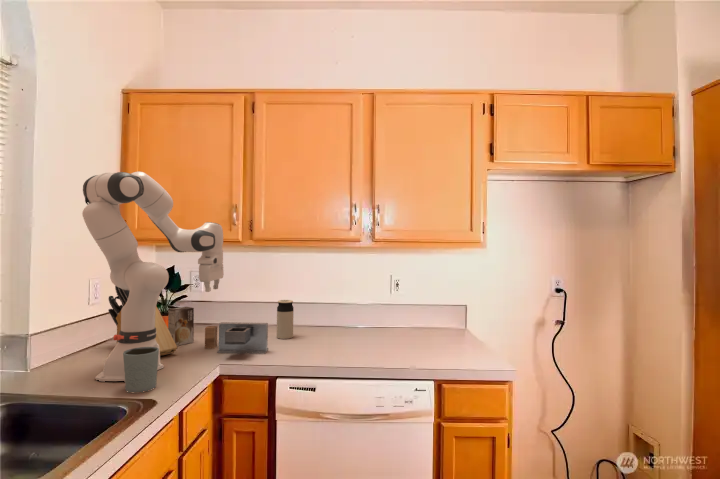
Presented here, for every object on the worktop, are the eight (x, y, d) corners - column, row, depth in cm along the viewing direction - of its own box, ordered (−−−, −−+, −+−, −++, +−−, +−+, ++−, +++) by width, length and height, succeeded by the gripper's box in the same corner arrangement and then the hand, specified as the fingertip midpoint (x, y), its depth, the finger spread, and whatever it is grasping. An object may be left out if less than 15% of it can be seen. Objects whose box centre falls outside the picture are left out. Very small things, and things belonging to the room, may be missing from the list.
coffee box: (186, 340, 189) (187, 306, 190) (193, 342, 186) (194, 307, 186) (167, 344, 182) (168, 308, 182) (174, 346, 178) (175, 310, 178)
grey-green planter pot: (138, 396, 121) (138, 356, 121) (114, 391, 125) (115, 352, 125) (165, 385, 131) (166, 348, 131) (142, 380, 135) (143, 344, 135)
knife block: (130, 342, 184) (131, 274, 184) (178, 354, 166) (179, 279, 166) (104, 347, 174) (105, 276, 175) (151, 361, 156) (153, 281, 156)
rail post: (213, 348, 176) (214, 327, 176) (204, 348, 176) (205, 327, 176) (217, 346, 180) (217, 325, 180) (208, 345, 180) (208, 325, 180)
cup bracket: (259, 359, 160) (260, 329, 160) (209, 359, 160) (209, 328, 160) (268, 349, 175) (268, 322, 175) (222, 349, 175) (222, 321, 175)
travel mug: (277, 339, 193) (277, 302, 193) (275, 336, 201) (276, 299, 201) (293, 338, 195) (294, 301, 195) (292, 335, 203) (292, 299, 203)
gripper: (213, 258, 189) (213, 287, 188) (196, 260, 168) (195, 293, 168) (227, 258, 189) (226, 287, 189) (211, 260, 168) (210, 293, 168)
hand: (211, 290), depth 178 cm, fingers open, 8 cm apart
